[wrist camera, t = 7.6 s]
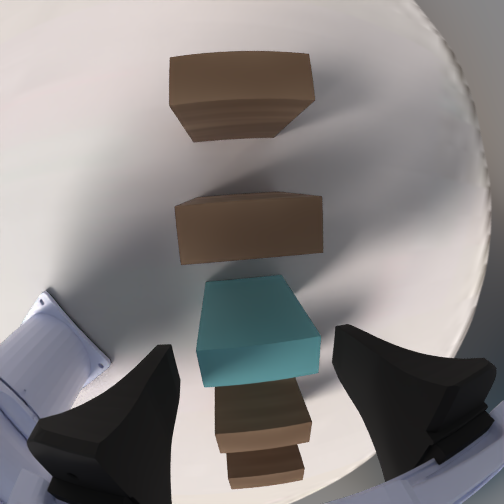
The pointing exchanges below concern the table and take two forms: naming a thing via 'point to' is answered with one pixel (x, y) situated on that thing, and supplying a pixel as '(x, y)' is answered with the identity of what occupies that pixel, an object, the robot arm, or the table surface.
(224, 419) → the domino
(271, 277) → the domino
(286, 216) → the domino
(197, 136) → the domino
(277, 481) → the domino
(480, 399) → the robot arm
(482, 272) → the table surface
